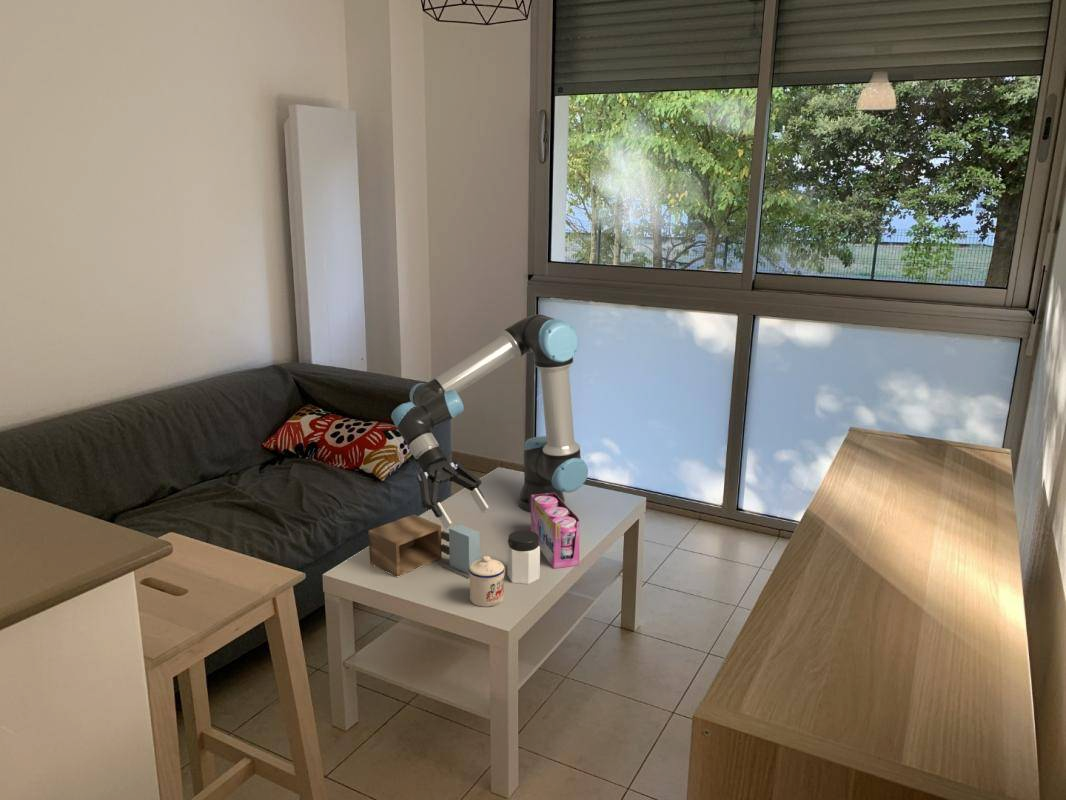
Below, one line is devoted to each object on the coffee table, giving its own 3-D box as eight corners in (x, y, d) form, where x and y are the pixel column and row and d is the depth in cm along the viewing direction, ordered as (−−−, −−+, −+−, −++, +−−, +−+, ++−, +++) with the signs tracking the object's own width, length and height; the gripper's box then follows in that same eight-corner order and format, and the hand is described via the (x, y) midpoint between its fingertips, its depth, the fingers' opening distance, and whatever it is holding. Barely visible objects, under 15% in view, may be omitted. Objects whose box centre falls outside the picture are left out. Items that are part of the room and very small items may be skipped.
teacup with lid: (490, 611, 205) (490, 568, 202) (461, 601, 210) (461, 559, 207) (518, 592, 214) (518, 551, 211) (489, 583, 219) (489, 542, 216)
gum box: (581, 568, 228) (583, 522, 225) (554, 571, 226) (555, 525, 223) (554, 533, 251) (555, 491, 247) (529, 536, 248) (530, 494, 245)
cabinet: (423, 542, 244) (422, 510, 241) (486, 570, 226) (486, 536, 224) (369, 563, 230) (368, 530, 227) (432, 595, 212) (431, 559, 210)
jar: (523, 566, 229) (523, 526, 225) (545, 576, 223) (546, 535, 220) (501, 578, 222) (500, 536, 219) (523, 587, 217) (523, 545, 214)
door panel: (449, 565, 228) (449, 528, 226) (460, 560, 231) (459, 524, 228) (469, 574, 223) (468, 536, 220) (480, 569, 226) (479, 532, 223)
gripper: (455, 449, 238) (493, 510, 233) (386, 472, 221) (426, 539, 215) (467, 435, 234) (506, 497, 228) (398, 457, 216) (438, 526, 210)
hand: (467, 518), depth 221 cm, fingers open, 13 cm apart
